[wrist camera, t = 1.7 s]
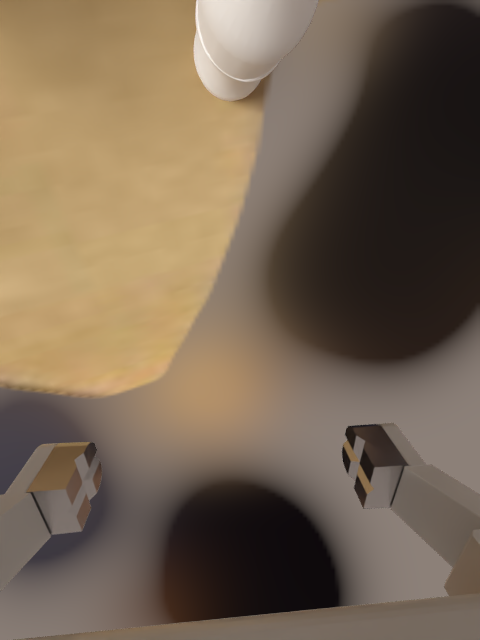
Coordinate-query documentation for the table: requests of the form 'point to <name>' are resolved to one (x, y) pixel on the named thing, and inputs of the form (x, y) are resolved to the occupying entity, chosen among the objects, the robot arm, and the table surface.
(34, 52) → the table surface
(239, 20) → the water bottle
